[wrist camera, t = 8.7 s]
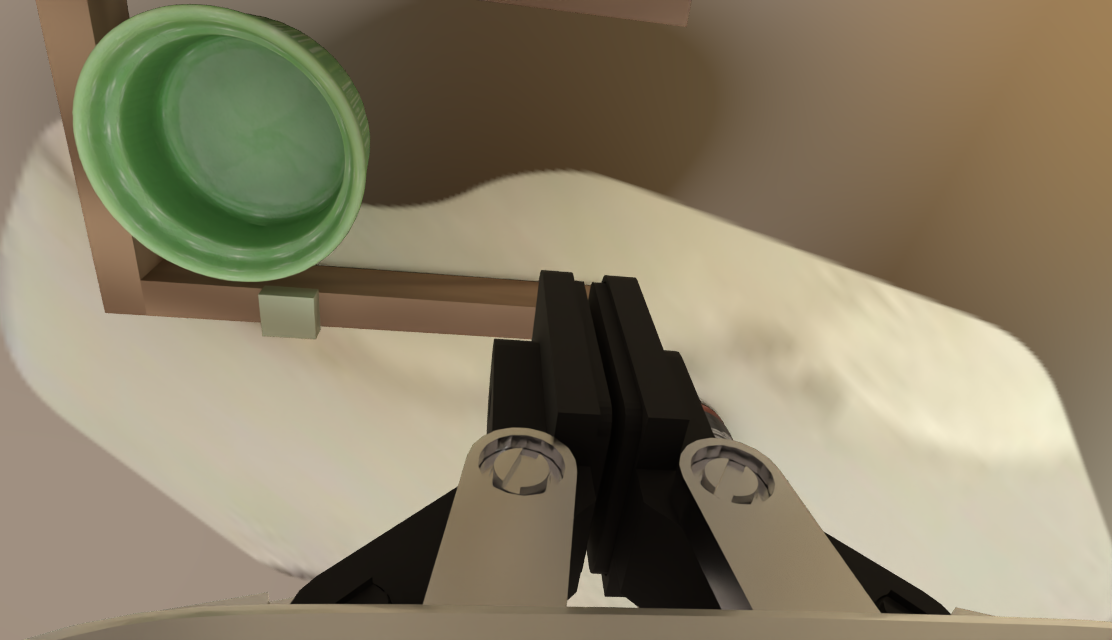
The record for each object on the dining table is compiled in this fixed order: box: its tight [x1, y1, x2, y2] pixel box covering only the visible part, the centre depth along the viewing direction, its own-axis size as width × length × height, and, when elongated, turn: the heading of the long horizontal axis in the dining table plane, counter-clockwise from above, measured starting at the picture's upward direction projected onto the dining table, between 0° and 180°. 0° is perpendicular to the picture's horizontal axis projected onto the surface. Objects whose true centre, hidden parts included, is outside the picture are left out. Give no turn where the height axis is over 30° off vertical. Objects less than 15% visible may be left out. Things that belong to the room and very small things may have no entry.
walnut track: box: [36, 0, 691, 339], centre depth 24 cm, size 14×20×3 cm
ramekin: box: [72, 4, 370, 282], centre depth 23 cm, size 9×9×4 cm
